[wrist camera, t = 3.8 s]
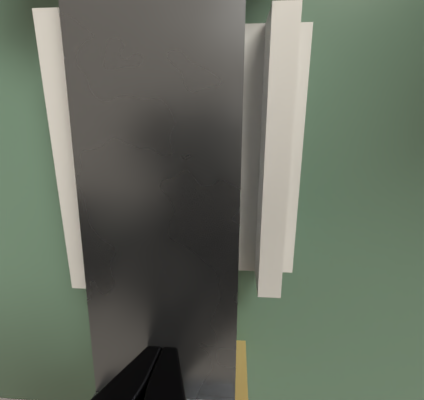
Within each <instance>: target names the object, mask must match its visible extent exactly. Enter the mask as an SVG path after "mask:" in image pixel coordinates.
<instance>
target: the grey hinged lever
mask: <svg viewBox="0 0 424 400" xmlns="http://www.w3.org/2000/svg"><path fill="white" fill-rule="evenodd" d="M58 2H59V12H60V23H61V33H62V44H63V54H64V64H65V75H66V85H67V96H68V106H69V116H70V127H71V137H72V148H73V158H74V168H75V179H76V189H77V200H78V210H79V220H80V231H81V241H82V252H83V262H84V272H85V283H86V293H87V304H88V314H89V324H90V335H91V345H92V356H93V366H94V376H95V387H96V392H95V393H94V395H93V397H94V396H95V395H96V394H97V393H98V392H99V391H100V390H101V389H102V388H103V387H104V386H105V385H107V384H108V383H109V382H110V381H111V380H112V379H113V378H114V377H115V376H116V375H117V374H118V373H119V372H120V371H122V370H123V369H124V368H125V367H126V366H127V365H128V364H129V363H130V362H131V361H132V360H133V359H134V358H135V357H137V356H138V355H139V354H140V353H141V352H142V351H143V350H144V349H145V348H146V347H148V346H160V347H162V349H163V347H176V348H177V349H178V353H179V359H180V366H181V372H182V378H183V384H184V390H185V396H186V400H235V378H236V341H237V305H238V268H239V231H240V194H241V158H242V121H243V84H244V47H245V11H246V0H58ZM93 397H92V398H93Z"/></svg>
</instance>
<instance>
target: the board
mask: <svg viewBox="0 0 424 400" xmlns="http://www.w3.org/2000/svg"><path fill="white" fill-rule="evenodd" d="M95 392H96V387H95V376H94V366H93V356H92V345H91V335H90V324H89V314H88V304H87V293H86V283H85V272H84V262H83V252H82V241H81V231H80V220H79V210H78V200H77V189H76V179H75V168H74V158H73V148H72V137H71V127H70V116H69V106H68V96H67V85H66V75H65V64H64V54H63V44H62V33H61V23H60V12H59V2H58V0H0V397H1V398H13V399H26V400H90V399H92V397H93V395H94V393H95ZM235 400H424V0H246V11H245V47H244V84H243V121H242V158H241V194H240V231H239V268H238V305H237V341H236V378H235Z"/></svg>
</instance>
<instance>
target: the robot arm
mask: <svg viewBox="0 0 424 400" xmlns="http://www.w3.org/2000/svg"><path fill="white" fill-rule="evenodd" d="M90 400H186V396H185V390H184V384H183V378H182V372H181V366H180V359H179V353H178V349H177V348H176V347H163V349H162V347H160V346H148V347H146V348H145V349H144V350H143V351H142V352H141V353H140V354H139V355H138V356H137V357H135V358H134V359H133V360H132V361H131V362H130V363H129V364H128V365H127V366H126V367H125V368H124V369H123V370H122V371H120V372H119V373H118V374H117V375H116V376H115V377H114V378H113V379H112V380H111V381H110V382H109V383H108V384H107V385H105V386H104V387H103V388H102V389H101V390H100V391H99V392H98V393H97V394H96V395H95V396H94V397H93V398H92V399H90Z"/></svg>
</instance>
